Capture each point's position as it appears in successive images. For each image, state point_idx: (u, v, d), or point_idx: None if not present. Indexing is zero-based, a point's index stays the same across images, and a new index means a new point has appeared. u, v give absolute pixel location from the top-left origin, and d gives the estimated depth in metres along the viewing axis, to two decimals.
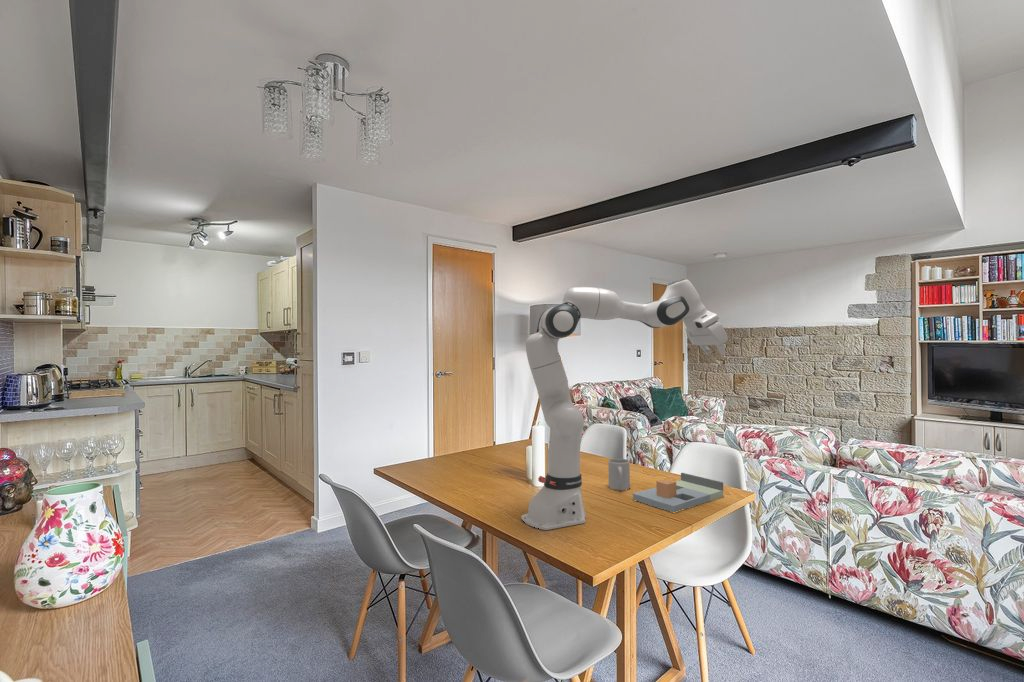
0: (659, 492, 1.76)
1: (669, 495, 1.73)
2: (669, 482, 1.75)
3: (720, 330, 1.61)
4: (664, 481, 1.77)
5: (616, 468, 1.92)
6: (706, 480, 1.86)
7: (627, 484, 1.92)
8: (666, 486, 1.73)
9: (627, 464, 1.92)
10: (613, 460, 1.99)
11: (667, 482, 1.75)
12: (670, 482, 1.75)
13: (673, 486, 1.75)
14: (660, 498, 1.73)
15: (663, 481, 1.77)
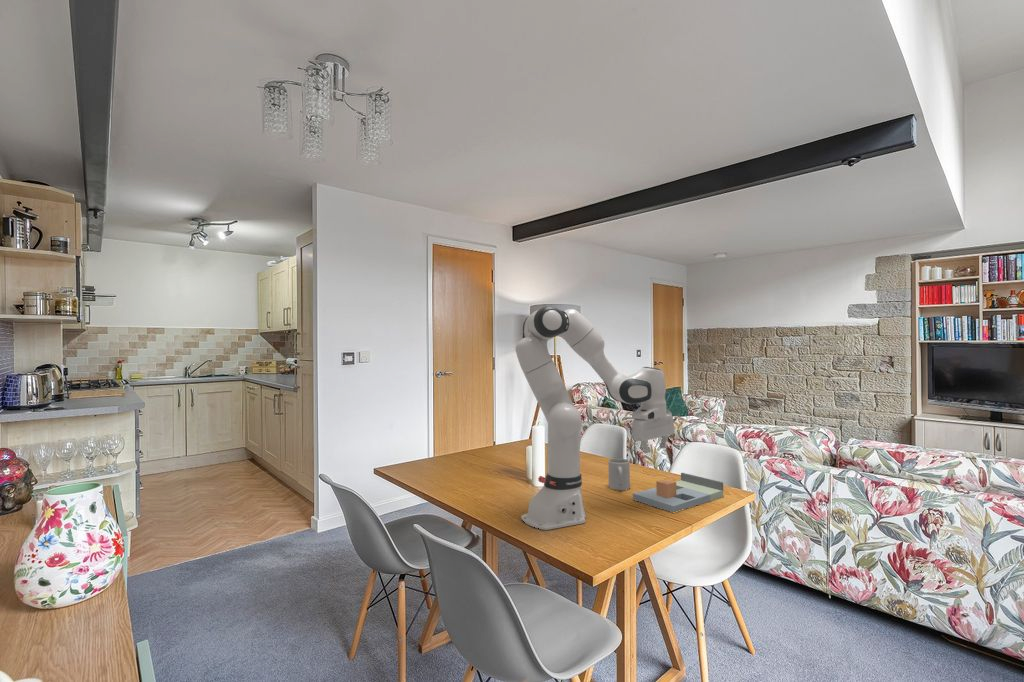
0: (659, 492, 1.76)
1: (669, 495, 1.73)
2: (669, 482, 1.75)
3: (638, 428, 1.66)
4: (664, 481, 1.77)
5: (616, 468, 1.92)
6: (706, 480, 1.86)
7: (627, 484, 1.92)
8: (666, 486, 1.73)
9: (627, 464, 1.92)
10: (613, 460, 1.99)
11: (667, 482, 1.75)
12: (670, 482, 1.75)
13: (673, 486, 1.75)
14: (660, 498, 1.73)
15: (663, 481, 1.77)
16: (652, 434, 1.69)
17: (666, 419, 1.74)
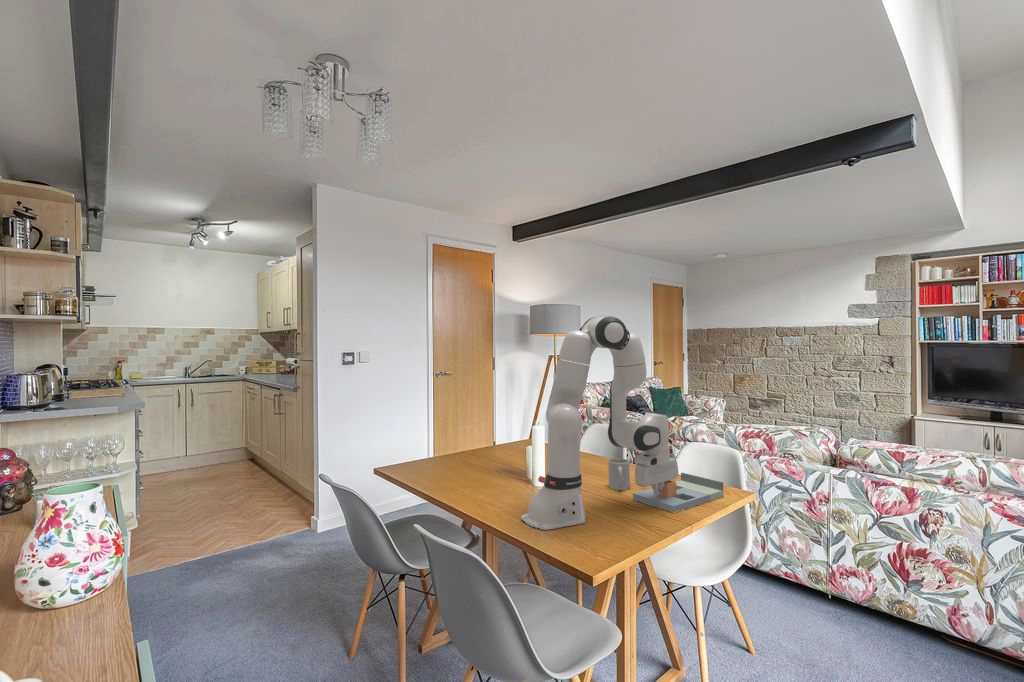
0: None
1: (669, 495, 1.73)
2: (669, 482, 1.75)
3: (640, 474, 1.67)
4: None
5: (616, 468, 1.92)
6: (706, 480, 1.86)
7: (627, 484, 1.92)
8: (666, 486, 1.73)
9: (627, 464, 1.92)
10: (613, 460, 1.99)
11: (667, 482, 1.75)
12: (670, 482, 1.75)
13: (673, 486, 1.75)
14: (660, 498, 1.73)
15: None
16: (655, 479, 1.70)
17: (670, 463, 1.75)
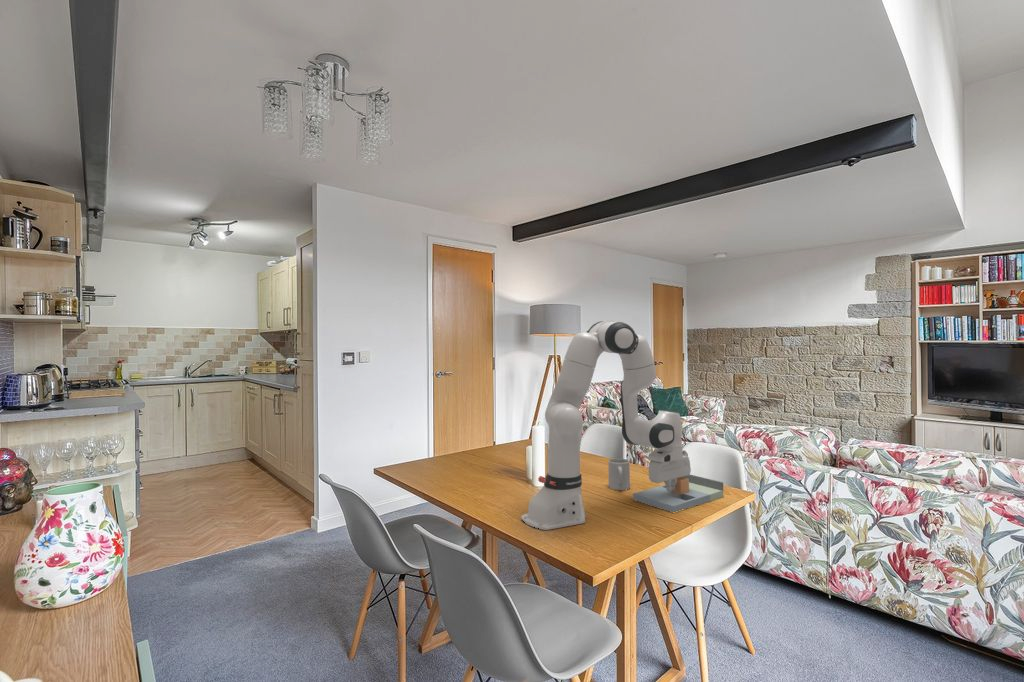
0: None
1: (682, 491, 1.77)
2: (682, 479, 1.79)
3: (654, 470, 1.71)
4: (677, 478, 1.81)
5: (616, 468, 1.92)
6: (706, 480, 1.86)
7: (627, 484, 1.92)
8: (679, 482, 1.77)
9: (627, 464, 1.92)
10: (613, 460, 1.99)
11: (680, 479, 1.79)
12: (683, 479, 1.79)
13: (685, 483, 1.79)
14: (660, 498, 1.73)
15: None
16: (668, 475, 1.74)
17: (682, 460, 1.79)
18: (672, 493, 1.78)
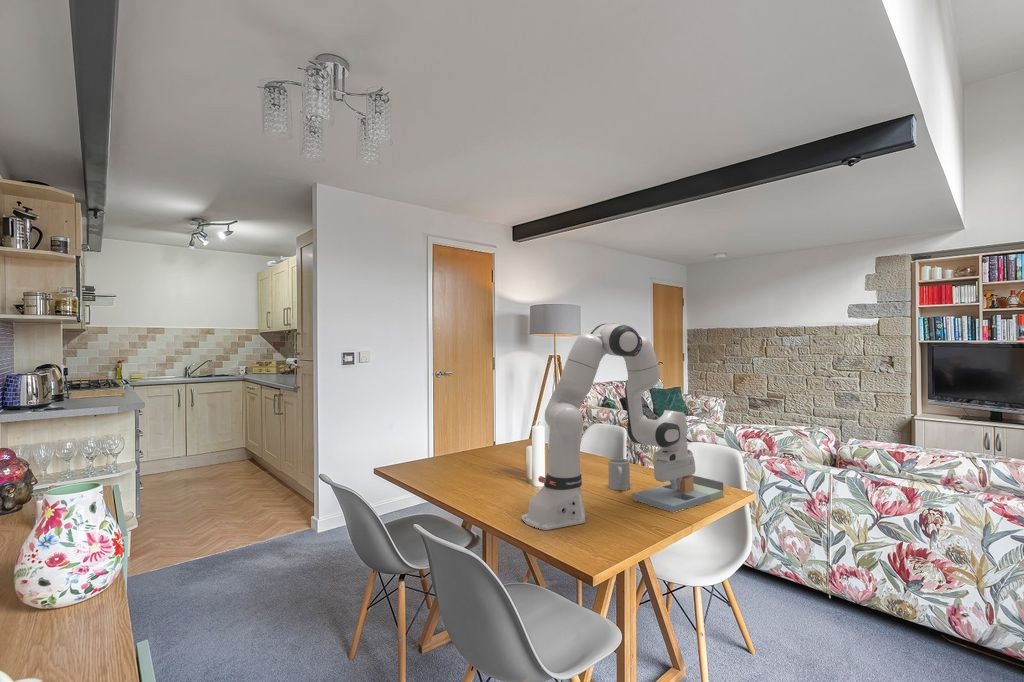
0: None
1: (687, 490, 1.79)
2: (686, 477, 1.81)
3: (660, 469, 1.73)
4: None
5: (616, 468, 1.92)
6: (706, 480, 1.86)
7: (627, 484, 1.92)
8: (684, 481, 1.79)
9: (627, 464, 1.92)
10: (613, 460, 1.99)
11: (685, 478, 1.81)
12: (687, 477, 1.81)
13: (690, 481, 1.80)
14: (660, 498, 1.73)
15: None
16: (673, 474, 1.76)
17: (687, 460, 1.81)
18: (672, 493, 1.78)
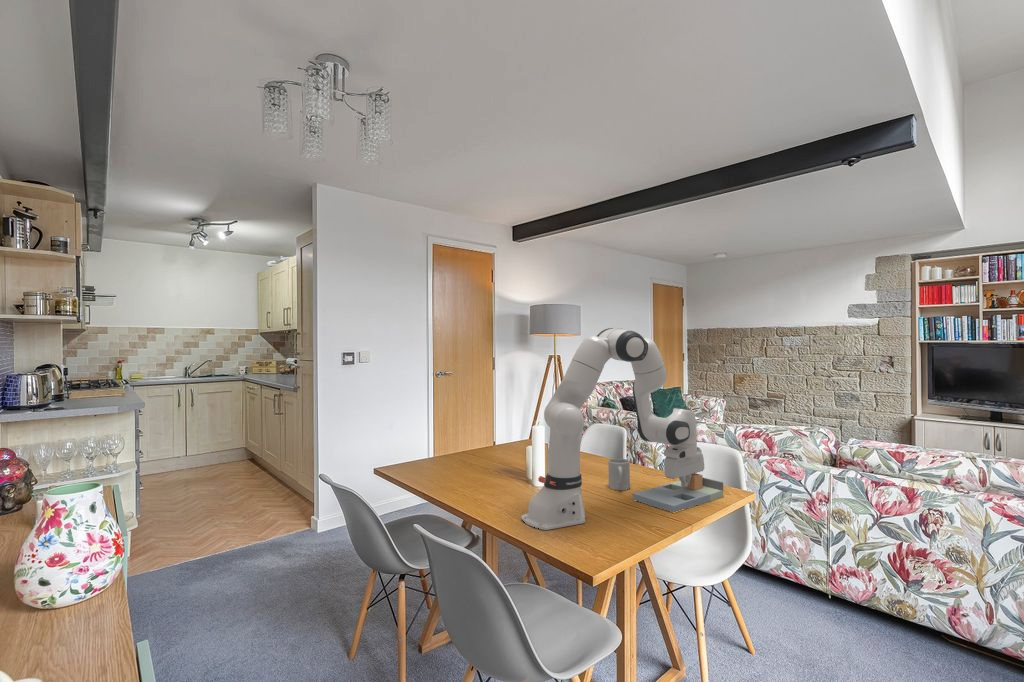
0: None
1: (696, 487, 1.82)
2: (696, 475, 1.84)
3: (670, 466, 1.76)
4: (691, 474, 1.86)
5: (616, 468, 1.92)
6: (706, 480, 1.86)
7: (627, 484, 1.92)
8: (693, 478, 1.82)
9: (627, 464, 1.92)
10: (613, 460, 1.99)
11: (694, 475, 1.84)
12: (697, 475, 1.84)
13: (699, 479, 1.84)
14: (660, 498, 1.73)
15: None
16: (683, 471, 1.79)
17: (696, 457, 1.84)
18: (672, 493, 1.78)
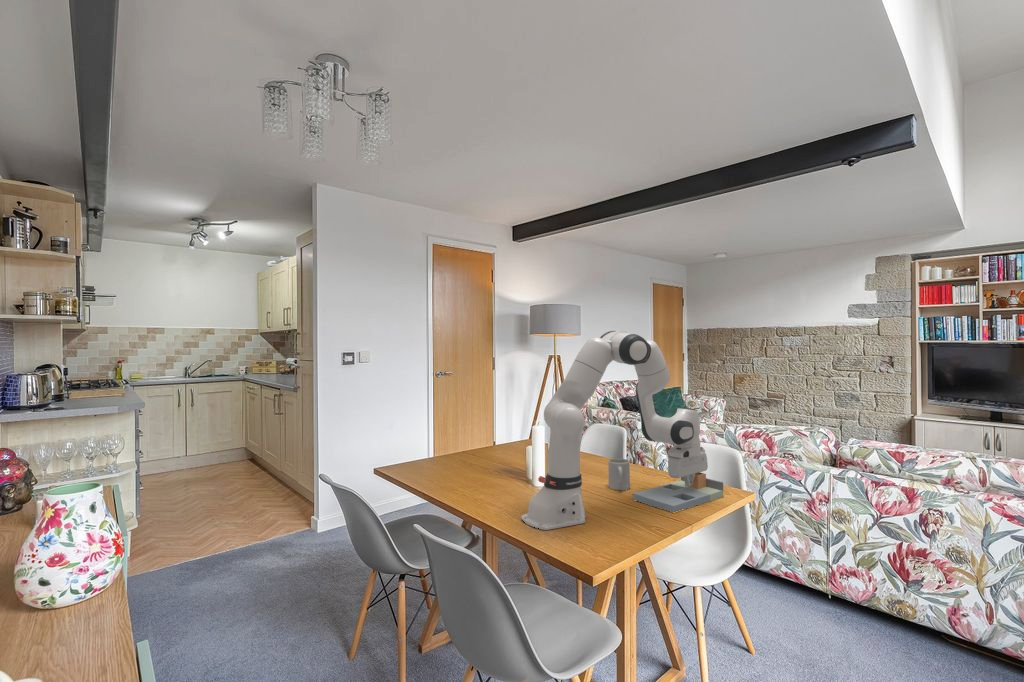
0: None
1: (699, 486, 1.84)
2: (699, 474, 1.86)
3: (674, 466, 1.78)
4: None
5: (616, 468, 1.92)
6: (706, 480, 1.86)
7: (627, 484, 1.92)
8: (697, 477, 1.84)
9: (627, 464, 1.92)
10: (613, 460, 1.99)
11: (698, 474, 1.86)
12: (700, 474, 1.86)
13: (703, 478, 1.85)
14: (660, 498, 1.73)
15: None
16: (687, 471, 1.80)
17: (700, 456, 1.85)
18: (672, 493, 1.78)
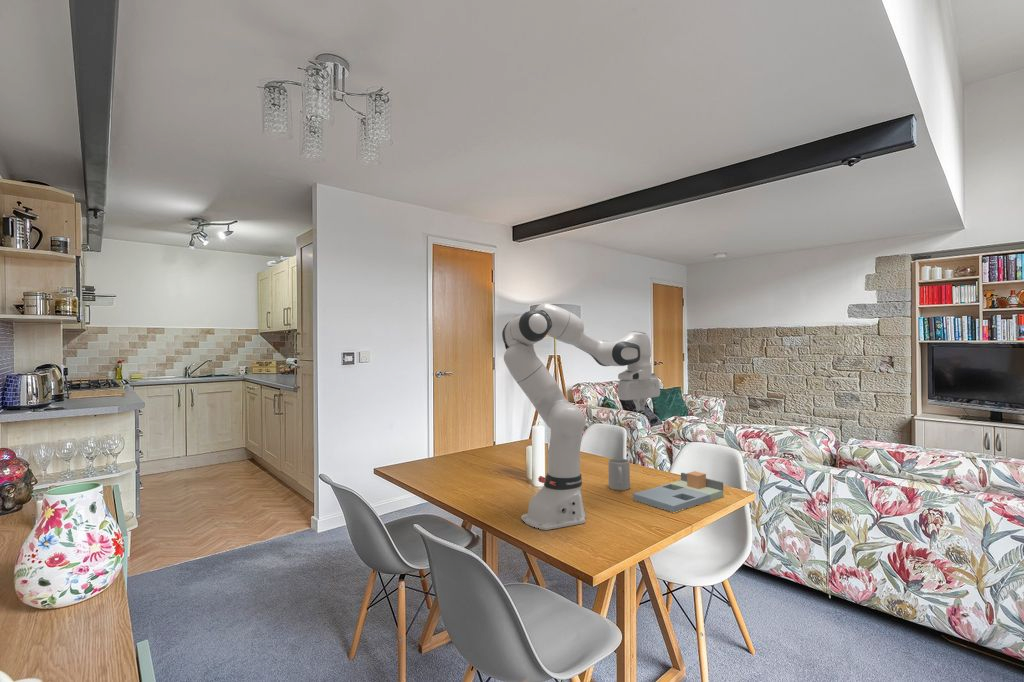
0: (690, 483, 1.86)
1: (699, 486, 1.84)
2: (699, 474, 1.86)
3: (623, 388, 1.76)
4: (694, 473, 1.87)
5: (616, 468, 1.92)
6: (706, 480, 1.86)
7: (627, 484, 1.92)
8: (697, 477, 1.84)
9: (627, 464, 1.92)
10: (613, 460, 1.99)
11: (698, 474, 1.86)
12: (700, 474, 1.86)
13: (703, 478, 1.85)
14: (660, 498, 1.73)
15: (693, 473, 1.87)
16: (637, 394, 1.79)
17: (651, 381, 1.84)
18: (672, 493, 1.78)
